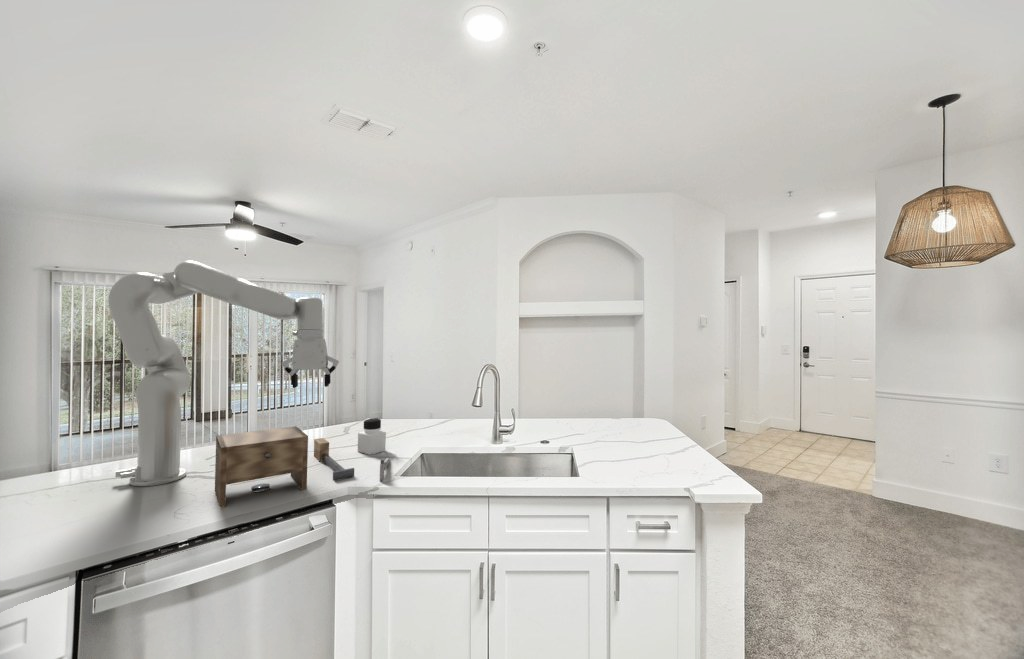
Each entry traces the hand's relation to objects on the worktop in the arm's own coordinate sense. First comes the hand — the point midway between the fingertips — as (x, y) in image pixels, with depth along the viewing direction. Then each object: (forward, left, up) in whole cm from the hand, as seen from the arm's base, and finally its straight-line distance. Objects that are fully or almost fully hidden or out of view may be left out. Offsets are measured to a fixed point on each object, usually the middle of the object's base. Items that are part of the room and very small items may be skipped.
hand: (311, 386), depth 137 cm
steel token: (-16, -14, -26) cm, 34 cm away
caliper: (+18, -19, -26) cm, 37 cm away
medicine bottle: (+22, +3, -26) cm, 34 cm away
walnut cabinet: (-16, -15, -26) cm, 34 cm away
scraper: (+5, -6, -26) cm, 27 cm away
